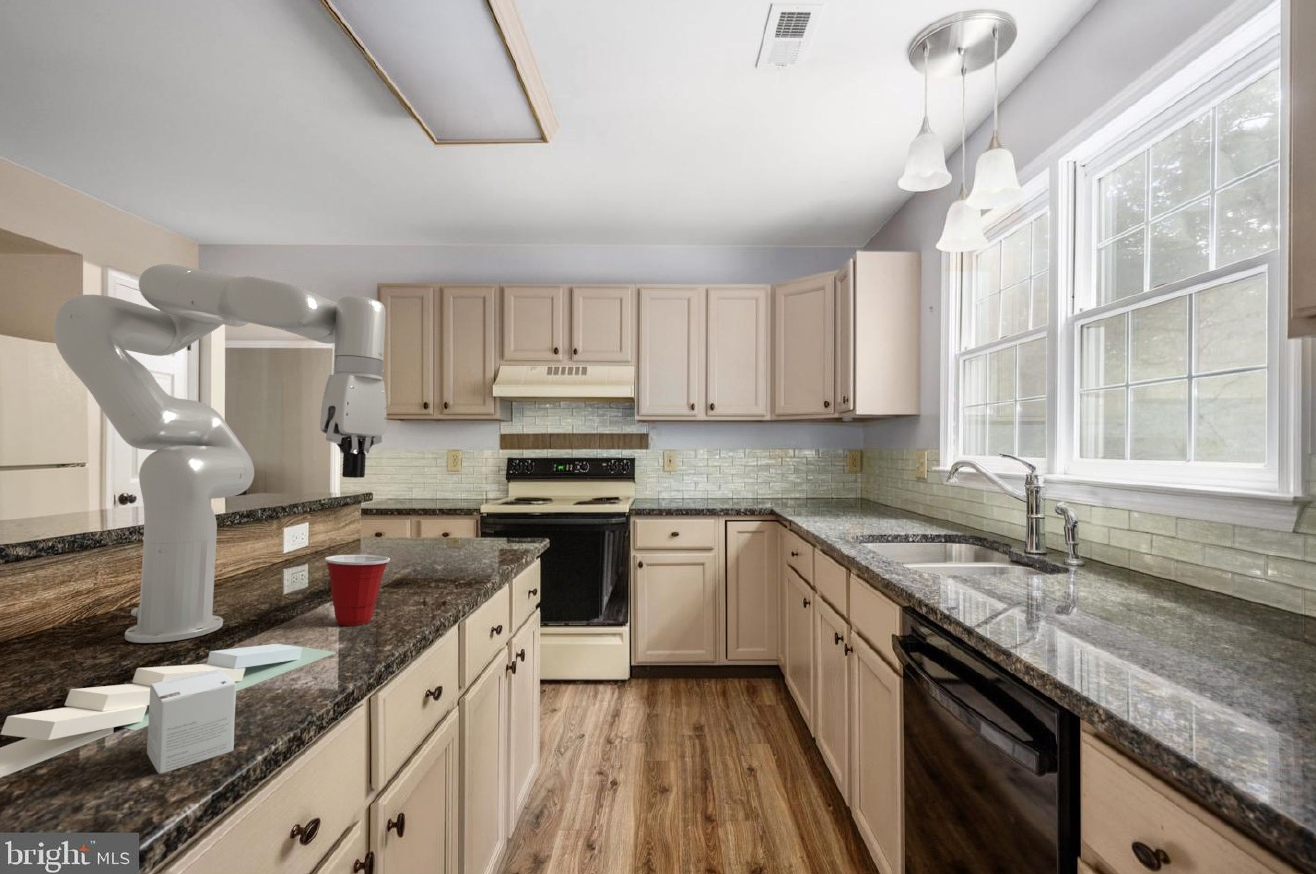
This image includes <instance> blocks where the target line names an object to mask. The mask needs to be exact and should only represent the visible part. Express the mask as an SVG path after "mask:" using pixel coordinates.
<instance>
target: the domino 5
mask: <svg viewBox="0 0 1316 874" xmlns="http://www.w3.org/2000/svg"><path fill="white" fill-rule="evenodd" d="M288 645H289V644H288ZM288 645H287V644H280V643H271V644H265V645H264V644H262V645H254V646H253V645H252V646H246V647H245V646H244V647H236V648H235V647H234V648H228V649H219V650H210V651H209V654H208V658H207V662H206V664H210V665H216V666H221V667H227V668H232V669H237V668H244V667H250V666H257V665H264V664H271V663H277V662H284V661H291V660H298V659H300V656H301V651H302V648H300V647H294V646H288Z"/></svg>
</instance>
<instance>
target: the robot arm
mask: <svg viewBox="0 0 1316 874" xmlns="http://www.w3.org/2000/svg"><path fill="white" fill-rule="evenodd" d="M138 289H139V291H140V294H141V296H142V297H143V299H144V300H145V301H146V302H148V304H150V305H151V306H153V307H154V308H152V307H148V306H145V305H142V304H138V303H134V302H131V301H128V300H124V299H122V298H121V299H120V298H118V297H113V296H108V295H103V294H102V295H101V294H100V295H99V294H81V295H80V294H79V295H76V296H74V297H71V298H69V299H67V300H66V301H64V302H63V303H62V304H61V306H60V307H59V309H58V310H57V312H56V316H55V318H54V324H53V336H54V342H55V345H56V347H57V350H58V352H59V354H60V356H61V358H62V359H63V361H64V362H65V364H67V366H68V367H69V369H70V370H71V371H72V372H73V373H74V374H75V376H76V377H78V379H79V380H80V381H81V382H82V383H83V385H84V386H85V387H86V389H87V390H88V391H89V393H90V394H91V395H92V396H93V398H94V400H95V402H96V403H97V405H98V406H99V407H100V409H101V411H102V412H103V413H104V414H105V416H106V418H108V420H109V422H110V423H111V425H112V426H113V427H114V429H115V430H116V432H117V433H118V434H119V436H120V437H121V438H122V440H123V441H125V443H126V444H128V446H131V447H133V448H135V449H140V450H146V451H147V450H149V451H154V452H152V453H150V454H149V455H148V456H147V457H146V458H145V459H144V460H143V462H142V464H141V466H140V467H139V473H138V474H139V475H138V479H139V481H138V482H139V486H140V487H139V488H140V493H141V498H142V504H143V517H144V518H143V519H144V523H143V525H144V526H143V539H142V540H143V541H142V542H143V544H142V545H143V549H142V562H141V563H142V565H141V577H140V578H141V579H140V595H139V596H140V597H139V605H137V606H138V607H134V608H132V610H131V611H130V614H131V616H134V617H137V621H136V622H137V624H135V625H133V626H131V627H129V628H128V629H126V630H125V632H124V639H125V640H126V641H128V642H131V643H138V644H156V643H157V644H158V643H166V642H167V643H168V642H176V641H181V640H188V639H192V638H193V639H194V638H196V637H200V636H204V635H207V634H210V633H213V632H215V631H217V630H220V628H222V627H223V624H224V618H222V617H221V616H218V615H213V608H214V607H213V605H214V592H215V591H214V589H215V588H214V587H215V572H216V556H217V553H216V552H217V536H218V533H217V532H218V531H217V530H218V526H217V525H218V524H217V522H218V521H217V519H216V514H215V512H214V509H213V508H212V505H211V503H210V500H214V499H223V498H224V499H225V498H231V497H235V496H237V495H240V494H243V493H244V492H245V491H247V490H248V489H249V488H250V487H251V485H252V484H253V480H254V478H255V467H254V464H253V461H252V458H251V456H250V455H249V453H248V451H247V450H246V449H245V446H243V445H242V443H241V441H240V440H239V439H238V437H237V435H236V434H235V433H234V432H233V430H232V428H230V426H229V425H228V424H227V423H228V422H226V421H225V419H224V418H223V417H222V415H221V414H220V413H219V412H218V411H217V410H215V408H213V407H211V406H210V405H208V404H206V403H204V402H202V401H201V402H200V401H198V400H192V399H185V398H177V397H175V396H171V395H169V394H168V393H167V392H166V391H165V390H164V389H163V388H162V387H161V385H160V384H159V383H158V381H157V380H156V379H155V377H154V376H153V374H152V373H151V372H150V371H149V369H148V368H147V367H146V366H145V365H144V364H142V363H141V362H140V361H139V360H138V359H136V358H134V356H132V355H131V354H130V353H128V352H127V351H129V352H134V353H138V354H143V355H149V356H155V357H156V356H157V357H162V356H163V357H165V356H169V355H172V354H176V353H178V352H180V351H182V350H183V349H185V348H187V347H189V346H190V345H191V344H194V343H195V342H196V341H198V340H200V339H202V338H204V337H205V336H207V335H209V334H210V333H212V332H214V331H215V330H217V329H219V328H221V326H223V325H224V326H229V327H234V328H236V327H237V328H238V327H239V328H240V327H244V326H246V325H248V324H254V325H258V326H263V327H268V328H272V329H276V330H280V331H285V332H287V333H291V334H293V335H298V336H300V337H303V338H306V339H308V340H312V341H315V342H318V343H322V344H329V345H331V344H332V345H333V344H334V350H333V352H334V353H333V368H332V369H333V370H332V371H333V373H332V374H329V375H328V377H327V381H326V384H325V387H324V392H323V396H322V402H321V410H320V420H319V421H320V422H319V427H320V431H321V432H322V433H323V434H325V435H326V436H325V440H326V441H328V442H330V443H334V444H336V445H337V447H338V448H339V452H340V454H342V455H343V456H342V474H341V475H342V477H343V478H350V479H351V478H353V479H358V478H360V479H361V478H365V475H366V458H367V457H366V455H369V453H370V450H371V448H372V447H373V446H374V445H379V444H381V443H382V442H383V438H382V436H383V435H384V434H385V433H386V428H387V416H388V415H387V397H386V396H387V395H386V385H385V381H384V380H383V379H384V377H383V376H384V375H385V369H384V359H385V358H384V357H385V356H384V355H385V338H386V337H385V336H386V335H385V334H386V315H387V313H386V312H387V311H386V307H385V306H384V304H383V303H382V302H381V301H379V300H377V299H374V298H371V297H368V296H360V295H346V296H342V297H340V298H339V299H338V300H337V302H336V301H334V300H331V299H329V298H326V297H325V296H321V295H320V294H318V293H315V292H313V291H311V290H308V289H307V288H304V287H301V286H297V285H294V284H291V283H286V282H282V281H277V280H271V279H266V278H261V277H256V276H246V275H245V276H235V275H228V274H222V273H217V272H212V271H207V270H203V269H199V268H198V269H197V268H195V267H188V266H183V265H176V264H170V263H169V264H167V263H166V264H165V263H163V264H157V265H153V266H150V267H148V268H147V269H145V270H144V271H143V272H142V273H141V274H140V276H139V279H138ZM155 308H156V309H155Z"/></svg>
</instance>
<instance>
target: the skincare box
mask: <svg viewBox="0 0 1316 874" xmlns="http://www.w3.org/2000/svg"><path fill="white" fill-rule="evenodd" d="M236 698H237V691H236V683H235V682H234V681H232V680H231V679H230V678H229V677H228V676H227V675H226V674H225V673H224V671H223V670H222V669H216V670H212V671H208V672H203V673H199V674H194V675H190V676H185V677H181V678H177V679H172V680H167V681H163V682H158V683H153V684H151V686H150V702H149V724H148V726H147V727H148V728H147V746H146V754H147V756H148V758H149V760H150V762H151V763H152V765H153V766H154V768H155V770H156V772H157V773H158V774H163V773H167V772H171V771H173V770H176V769H177V770H178V769H180V768H184V767H186V766H190V765H192V764H197V763H199V762H203V761H206V760H209V759H212V758H215V757H218V756H221V755H224V754H227V753H230V752H233V751H234V750H235V749H234V744H235V719H236V718H235V717H236V716H235V715H236Z"/></svg>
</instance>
